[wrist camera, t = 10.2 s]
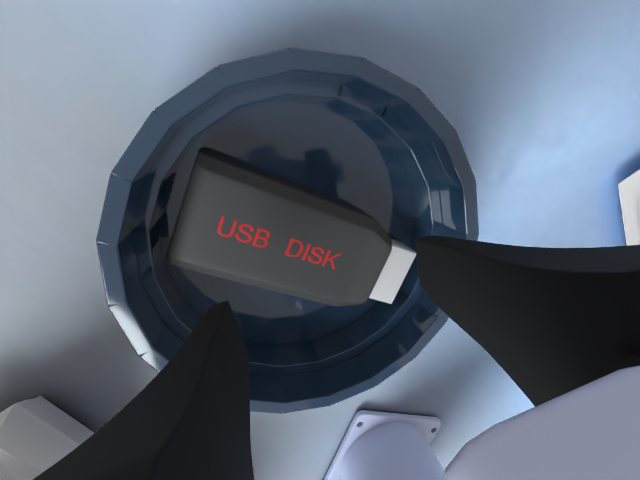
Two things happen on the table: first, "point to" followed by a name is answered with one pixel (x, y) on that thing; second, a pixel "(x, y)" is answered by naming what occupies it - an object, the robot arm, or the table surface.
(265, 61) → the bowl
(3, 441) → the stamp
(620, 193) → the touchpad
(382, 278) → the usb drive
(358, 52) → the table surface
